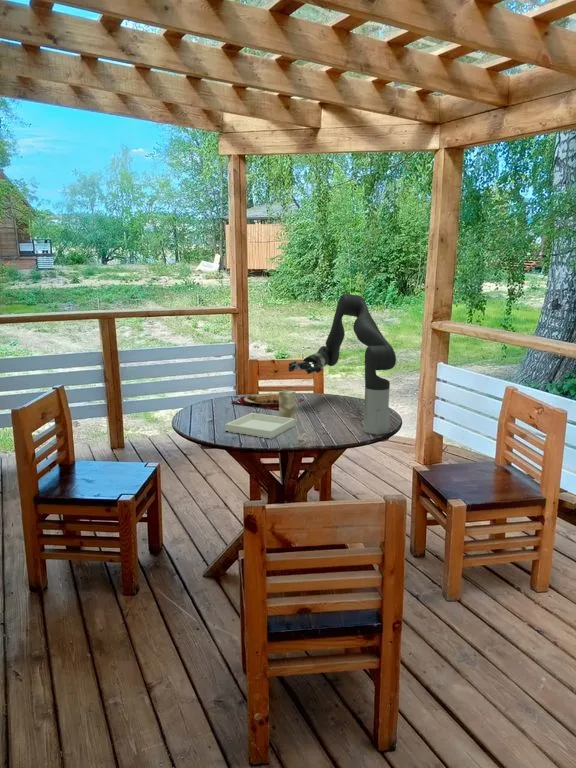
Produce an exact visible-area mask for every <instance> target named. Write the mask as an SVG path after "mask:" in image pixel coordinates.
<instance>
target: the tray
mask: <svg viewBox="0 0 576 768" xmlns="http://www.w3.org/2000/svg"><path fill="white" fill-rule="evenodd" d="M294 427H296V418H295V419H293V418H286V417H279V415H278V416H277V415H270V414H264V413H258V412H251V413H248V414H245V415H243V416H241V417H239V418H236V419H234V420H232V421H229V422H227V423H225V424H224V429H225V431H229V432H235V433H234V434H236V433H241V434H240V435H242V434H246V435H245V436H248V435H252V436H251V437H254V436H257V437H256V438H260V437H263V438H262V439H266V438H269V439H268V440H272V439H274V438H276V437H278V436H280V435H282V434H284V433H285V432H287V431H289V430H291V429H292V428H294ZM225 431H224V432H225ZM229 432H228V433H229Z"/></svg>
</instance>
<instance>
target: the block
mask: <svg viewBox="0 0 576 768" xmlns="http://www.w3.org/2000/svg"><path fill="white" fill-rule="evenodd" d="M278 394H279V409H278V416H279V417H286V418H293V419H295V420H296V391H295V390H290V389H289V390H287V389H283V390H281V391H278Z"/></svg>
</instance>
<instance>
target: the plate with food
mask: <svg viewBox="0 0 576 768" xmlns="http://www.w3.org/2000/svg"><path fill="white" fill-rule="evenodd" d="M233 398H236V399H237V398H238V399H237V400H232V401H231V403H232V404H235V405H237V404H238V405H241V406H252V404H255V405H253V407H256V405H259V407H262V409H266V410H279V393H278V394H277V393H269V392H268V393H262V394H261V393H258V394H251V395H247V396H235V395H234V396H233ZM304 400H305V398H299V399H298V401H297V404H299V403H301V402H303V401H304ZM237 401H239V402H240V403H238V402H237Z"/></svg>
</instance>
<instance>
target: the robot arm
mask: <svg viewBox="0 0 576 768" xmlns="http://www.w3.org/2000/svg"><path fill="white" fill-rule="evenodd" d="M344 316H348V317H354V318H356V319H355V321H354V322H353V325H352V328H353V332H354V334H355V336H356V338H357V340H358V341H359V342H360V343H361V344H363V345H365V346H366V348H365V352H364V405H363V407H364V408H363V429H362V430H363V432H364V433H366V434H369V435H377V436H379V435H385V434H389V433H390V425H391V409H390V407H389V405H390V383H391V382H390V381H389V379H386V378H383V377H380V376H379V375H377V371H388V370H392V369H394V367H395V366H396V363H397V356H396V352H395V351H394V349H393V347H392V345H391V343H389V341H388V340H387V339H386V338H385V337H384V335H383V333H382V332H381V331H380V329H379V327H378V324H377V323H376V322H375V320H374V319H373V317H372V314H371V313H370V311H369V308H368V306H367V303H366V301H365V299H364V298H363V296H360V295H356V294H350V293H343V294H342V295H340V296H339V299H338V301H337V304H336V309H335V313H334V316H333V321H332V325H331V329H330V332H329V334H328V336H327V339H325V340H326V341H325V345H322V346H320V347H319V349H318V350H317V352H316V353H313V354H310V355H308V356H306V357H304V359H303V360H302V361H300V362H297V361H296V360H294V361H293V362H289V363H288V372H293V371H297V372H299V371H302V372H303V371H304V372H306V374H307V375H310V374H313V373H317V374H319V373H320V372H322V371H323V369H324V367H326V366H329V367H334V366H335V365H336V364H337V363H338V361H339V358H340V349H341V346H342V343H343V341H344V339H345V335H346V334H345V329H344V324H343V317H344Z"/></svg>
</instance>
